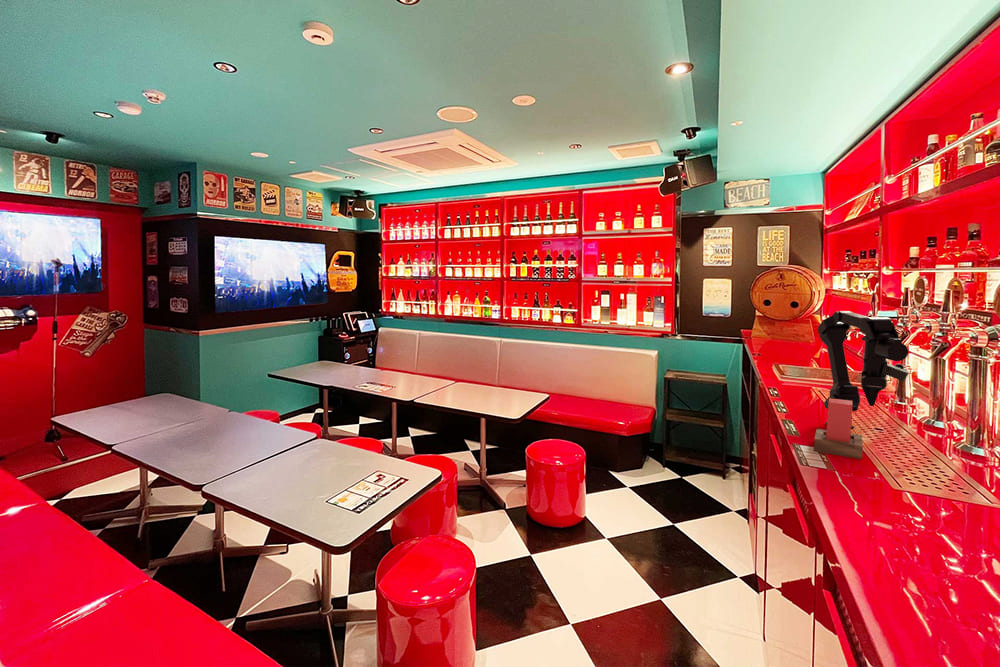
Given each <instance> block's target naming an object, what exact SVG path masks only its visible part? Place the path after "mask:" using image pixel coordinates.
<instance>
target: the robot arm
mask: <svg viewBox="0 0 1000 667" xmlns="http://www.w3.org/2000/svg"><path fill="white" fill-rule="evenodd" d="M851 326H852V327H855V328H857V329H859V332H860V333H862V334H863V335H864V336H863V337H861V339H860V340H861V341H862V342H863V341H864V349H863V351H864V352H863V366H862V369H861V381H860V386H861V388H862V390H863V393H864V395H865V397H866V400H867V404H868V405H869V406H870V407H874V406H875V404H876V401H877V398H878V395H879V392H881V391H883V390H885V389H886V388H887V382H888V381H887V376H888V377H891V378H893V379H896V380H898V381H900V382H903V383H904V382H905V380H906V379H907V377H908V375H909V374H910V372H909V370H907V369H904V364H901V363H896V364H894V365H893V364H889V363H888V361H889V360H890V361H893V362H901V361H903V360H905V359H906V358H907V357H908V356H909V355H908V354H909V349H908V347H907V346H906V345H905V344H904V343H903V339H902V338H900V336H899V332H898V331H897V329H896V326H895V325H894V322H893V321H892V319H891V318H890V317H869V316H866V315H863V314H859V313H855V312H853V311H850V310H837V311H834V312H833V313H832V315H830V316H828V317H826V318H824V319H823V320H822V321H821V322H820V323H819V324H818V326H817V333H818V335H819V338H820V341H821V342H823V344H824V345H825V346H826V348H827V353H828V354H827V355H828V359H829V360H828V361H829V366H830V371H831V376H832V382H833V384H832V385H831V388H830V389H829V396H828V397H827V398H826V400H824V402H823V403H824V409H827V410H828V402H829V398H831V399H840V400H849V401H852V412H858V408H859V407H860V403H861V396H860V393H859V387H858V386H857V385H854V384H853V383H851V381H850V380H851V379H850V375H849V370H848V364H847V359H846V358H847V357H846V353H845V348H844V342H845V341H846V338H847V337H848V336H847V335H848V334H847V332H849V331H850V329H851V328H852V327H851ZM852 422H853V418H852V419H851V429H854V428H855V426H854V425H852ZM824 424H825V425H827V421H825V422H824Z"/></svg>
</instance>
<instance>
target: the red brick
mask: <svg viewBox="0 0 1000 667" xmlns="http://www.w3.org/2000/svg"><path fill="white" fill-rule="evenodd" d="M851 419H852V420H853V411H852V401H849V400H840V399H831V398H829V402H828V409H827V420H826V422H827V424H826V430H827V434H826V439H830V440H837V441H843V442H850V434H852V433H851V429H852V428H851V425H852V423H851Z"/></svg>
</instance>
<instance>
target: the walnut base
mask: <svg viewBox="0 0 1000 667" xmlns="http://www.w3.org/2000/svg"><path fill="white" fill-rule="evenodd" d="M826 434H827V429H823V428H822V429H821V428H816V431H815V434H814V442H813V443H814V444H813V452H816V453H822V454H827V455H828V454H829V455H834V456H840V457H846V458H852V459H858V460H862V459H863V448H864V445H863V435H861V434H856V433H855V434H854V433H850V442H843V441H837V440H830V439H826Z"/></svg>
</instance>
